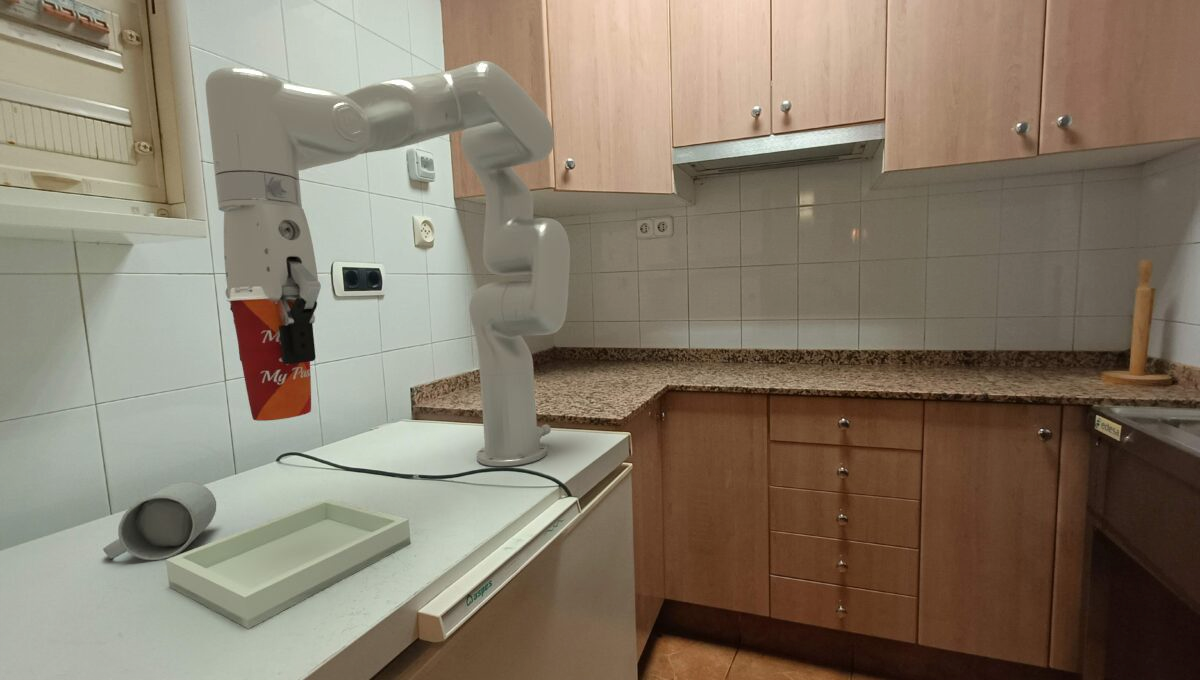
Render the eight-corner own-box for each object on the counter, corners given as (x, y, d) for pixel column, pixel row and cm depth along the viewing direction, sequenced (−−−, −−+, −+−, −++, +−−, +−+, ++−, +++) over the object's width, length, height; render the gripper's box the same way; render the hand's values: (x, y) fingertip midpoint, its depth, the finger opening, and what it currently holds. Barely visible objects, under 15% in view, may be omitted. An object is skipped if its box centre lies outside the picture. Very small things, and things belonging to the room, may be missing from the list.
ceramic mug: (223, 526, 71) (216, 470, 70) (199, 553, 63) (190, 491, 62) (126, 543, 67) (118, 485, 67) (88, 573, 60) (78, 508, 59)
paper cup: (285, 423, 53) (270, 284, 52) (222, 423, 55) (206, 288, 54) (338, 406, 61) (326, 285, 60) (281, 406, 62) (268, 288, 61)
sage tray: (330, 520, 71) (328, 498, 71) (410, 543, 63) (408, 519, 63) (169, 586, 56) (165, 559, 55) (248, 629, 47) (245, 597, 47)
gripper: (343, 190, 55) (358, 358, 56) (254, 211, 63) (269, 356, 65) (268, 179, 48) (287, 369, 50) (181, 203, 57) (199, 364, 59)
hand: (277, 360), depth 57 cm, fingers closed on paper cup, 7 cm apart
